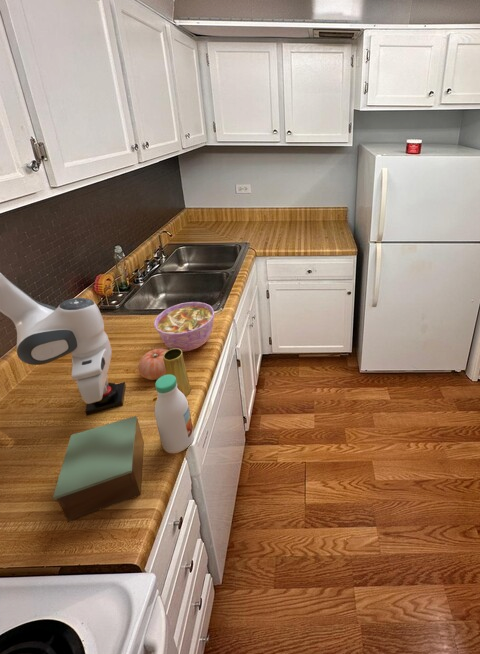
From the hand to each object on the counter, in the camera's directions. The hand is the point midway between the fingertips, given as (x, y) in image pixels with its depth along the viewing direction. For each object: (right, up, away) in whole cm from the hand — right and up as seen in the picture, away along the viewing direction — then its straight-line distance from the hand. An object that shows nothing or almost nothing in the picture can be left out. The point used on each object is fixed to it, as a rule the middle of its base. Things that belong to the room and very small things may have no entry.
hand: (104, 390), depth 96 cm
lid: (+14, -4, -23) cm, 27 cm away
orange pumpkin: (+10, 0, +12) cm, 16 cm away
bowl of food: (+15, +6, +25) cm, 30 cm away
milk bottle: (+26, -9, -10) cm, 29 cm away
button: (0, -2, +1) cm, 2 cm away
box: (+14, -12, -19) cm, 27 cm away
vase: (+20, -3, +4) cm, 21 cm away
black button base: (0, -4, +1) cm, 4 cm away
